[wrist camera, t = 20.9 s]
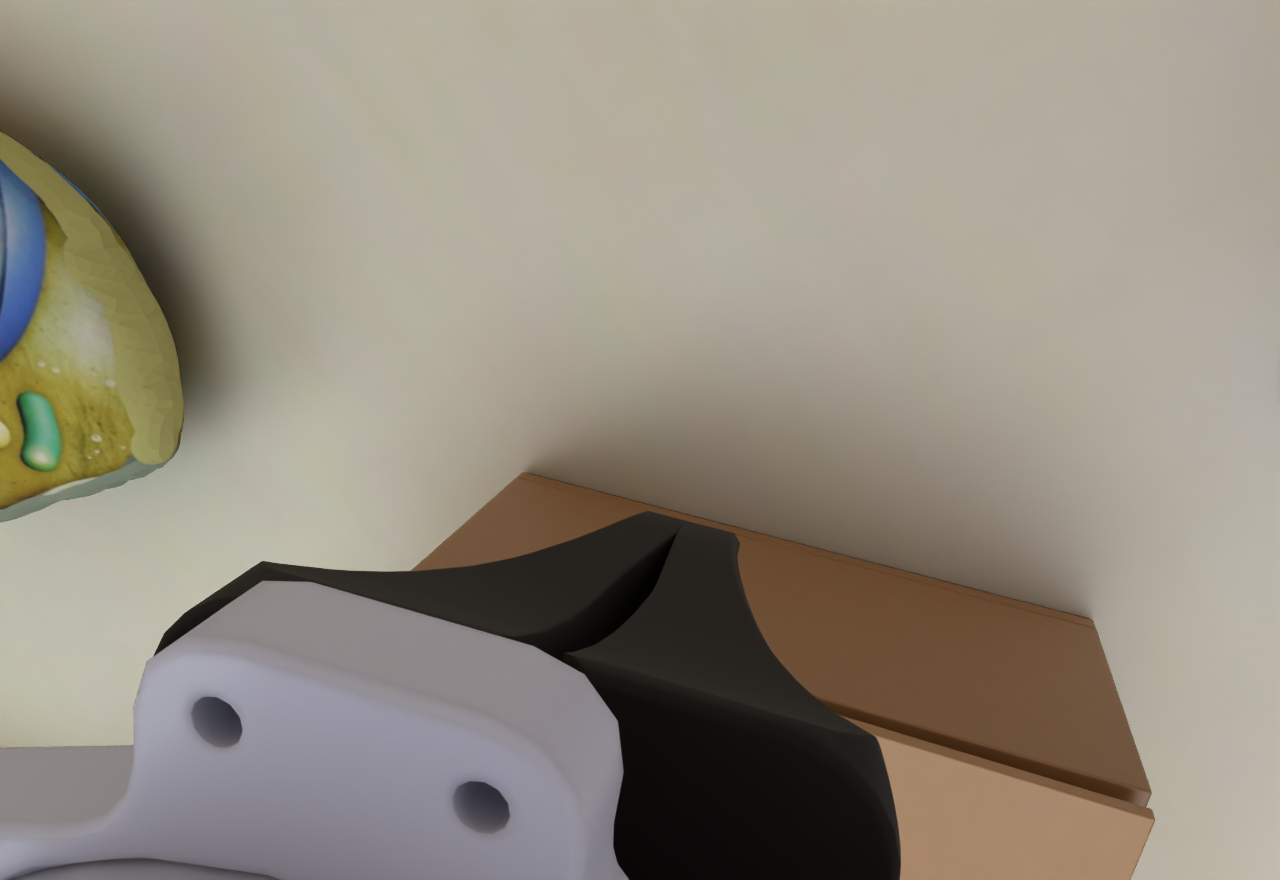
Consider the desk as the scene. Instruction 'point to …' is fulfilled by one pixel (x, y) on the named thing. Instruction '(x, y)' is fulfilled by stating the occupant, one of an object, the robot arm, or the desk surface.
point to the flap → (1002, 819)
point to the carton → (881, 641)
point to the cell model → (75, 347)
